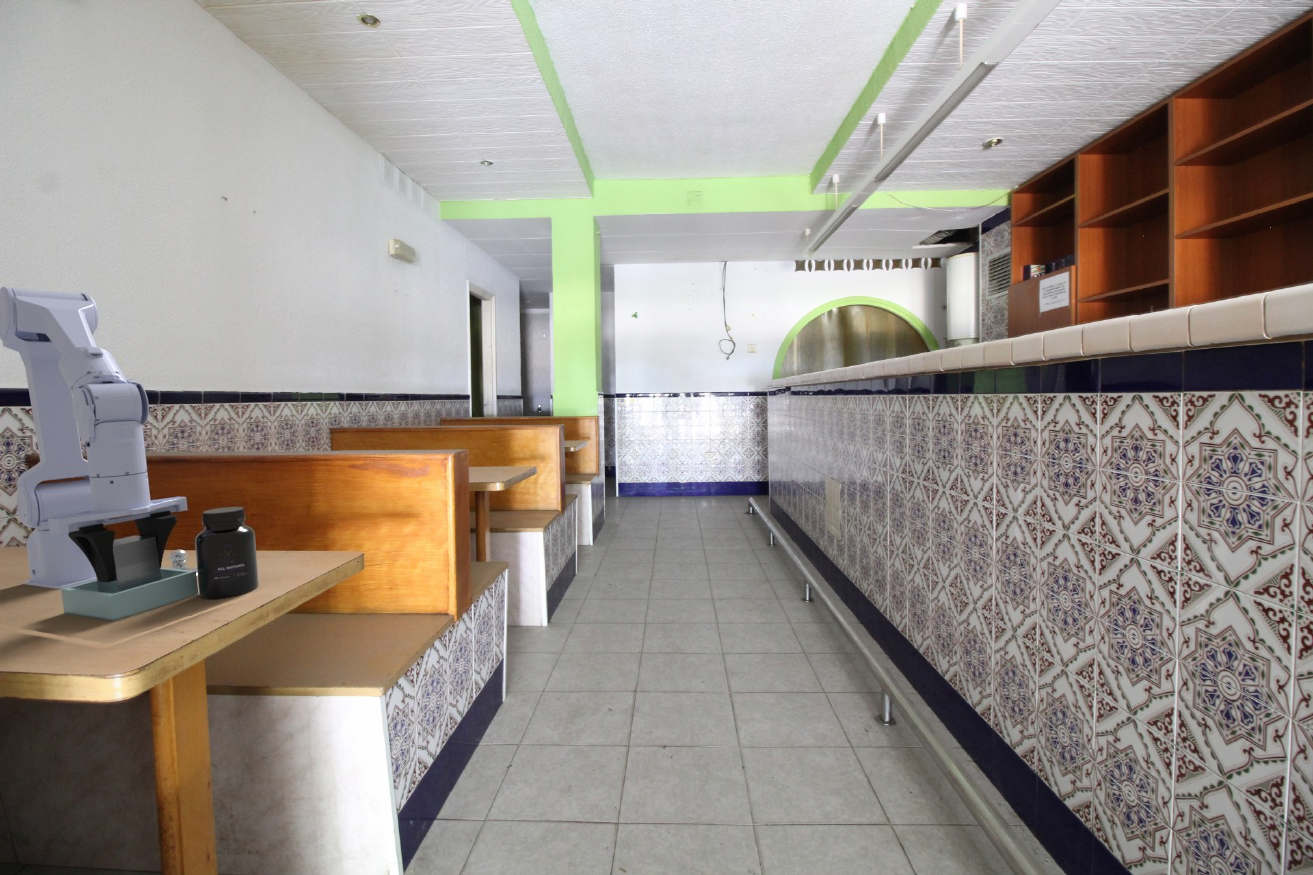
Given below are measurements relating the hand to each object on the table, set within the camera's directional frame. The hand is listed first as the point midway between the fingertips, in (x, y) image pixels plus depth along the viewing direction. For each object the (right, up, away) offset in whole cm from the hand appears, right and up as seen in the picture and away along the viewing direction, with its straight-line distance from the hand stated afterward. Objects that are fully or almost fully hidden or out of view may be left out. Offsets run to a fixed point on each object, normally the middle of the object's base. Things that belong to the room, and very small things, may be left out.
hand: (130, 574), depth 80 cm
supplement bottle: (+10, -4, +4) cm, 12 cm away
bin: (0, -4, 0) cm, 4 cm away
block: (0, -3, 0) cm, 3 cm away
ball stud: (-3, -3, +13) cm, 14 cm away
